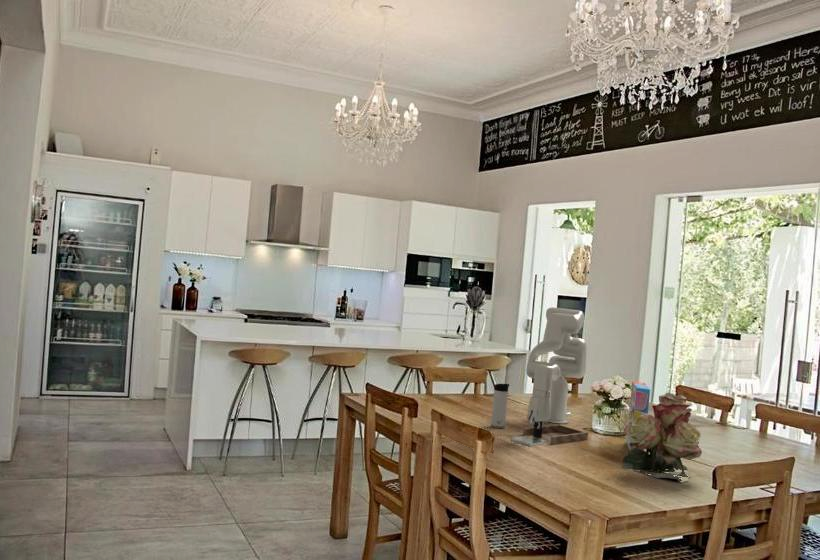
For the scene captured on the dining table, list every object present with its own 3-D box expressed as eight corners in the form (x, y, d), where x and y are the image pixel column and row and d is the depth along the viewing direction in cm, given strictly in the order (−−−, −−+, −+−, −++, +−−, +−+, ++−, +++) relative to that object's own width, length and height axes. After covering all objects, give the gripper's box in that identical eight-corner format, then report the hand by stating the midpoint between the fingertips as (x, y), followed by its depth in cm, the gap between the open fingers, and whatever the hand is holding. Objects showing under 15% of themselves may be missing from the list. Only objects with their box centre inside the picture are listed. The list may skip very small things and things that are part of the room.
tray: (557, 432, 335) (558, 424, 334) (587, 440, 322) (588, 432, 322) (522, 436, 319) (523, 428, 319) (552, 445, 307) (553, 437, 307)
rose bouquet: (613, 468, 279) (621, 389, 278) (650, 459, 300) (657, 385, 299) (678, 487, 261) (687, 402, 260) (713, 476, 282) (721, 397, 281)
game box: (643, 455, 306) (650, 389, 305) (630, 453, 307) (636, 387, 306) (638, 444, 326) (644, 382, 325) (625, 442, 327) (631, 381, 326)
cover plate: (527, 440, 316) (527, 435, 316) (546, 445, 309) (547, 440, 309) (510, 443, 307) (510, 438, 307) (529, 448, 300) (530, 444, 300)
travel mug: (500, 429, 329) (505, 384, 329) (488, 426, 333) (492, 382, 333) (507, 428, 334) (512, 383, 334) (495, 425, 338) (499, 381, 338)
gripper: (545, 391, 320) (541, 434, 320) (523, 393, 310) (518, 436, 310) (559, 395, 314) (555, 438, 315) (537, 396, 304) (532, 441, 305)
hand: (537, 437), depth 312 cm, fingers closed
